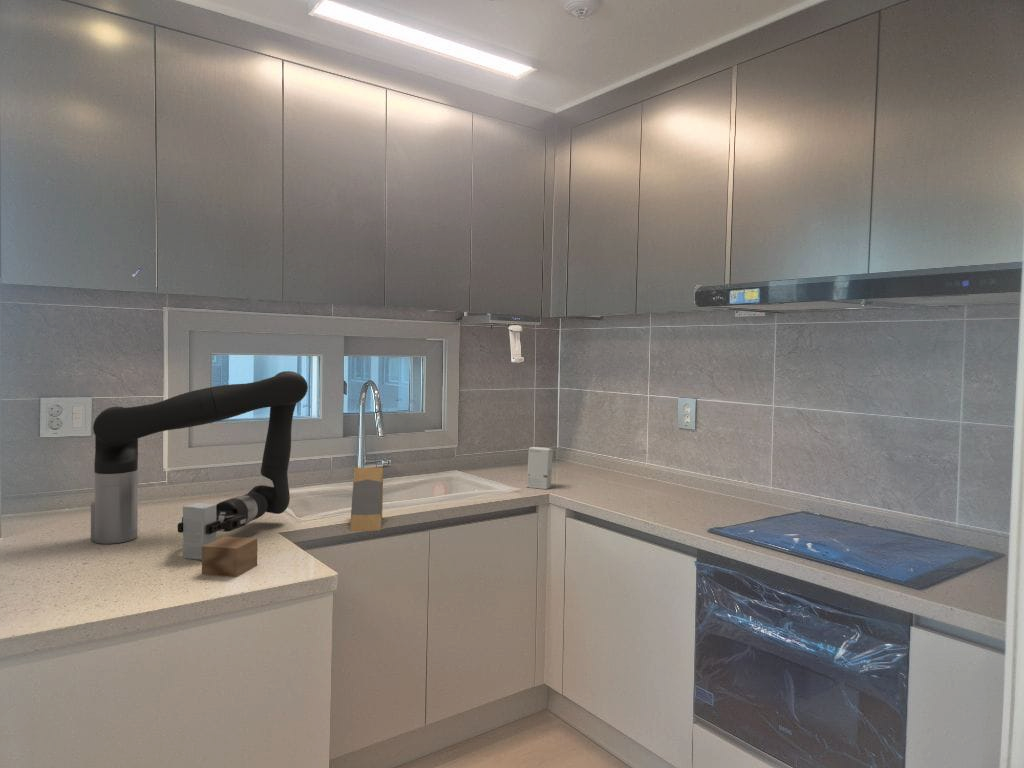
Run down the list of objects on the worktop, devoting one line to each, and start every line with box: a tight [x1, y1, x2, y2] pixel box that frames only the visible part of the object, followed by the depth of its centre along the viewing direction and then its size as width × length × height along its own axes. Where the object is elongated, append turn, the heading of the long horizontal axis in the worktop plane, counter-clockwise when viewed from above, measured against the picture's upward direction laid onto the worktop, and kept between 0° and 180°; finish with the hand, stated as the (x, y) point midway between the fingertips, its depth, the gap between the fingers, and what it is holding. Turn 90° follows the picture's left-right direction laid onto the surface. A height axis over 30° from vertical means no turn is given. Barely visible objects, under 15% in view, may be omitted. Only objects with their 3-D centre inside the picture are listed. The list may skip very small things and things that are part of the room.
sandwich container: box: [349, 467, 384, 532], centre depth 180 cm, size 9×15×15 cm, turn 10°
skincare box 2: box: [526, 446, 554, 490], centre depth 239 cm, size 8×6×15 cm
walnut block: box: [201, 535, 258, 578], centre depth 139 cm, size 8×8×6 cm
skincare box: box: [182, 502, 218, 561], centre depth 147 cm, size 6×4×12 cm
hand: (193, 529), depth 145 cm, fingers closed on skincare box, 6 cm apart
